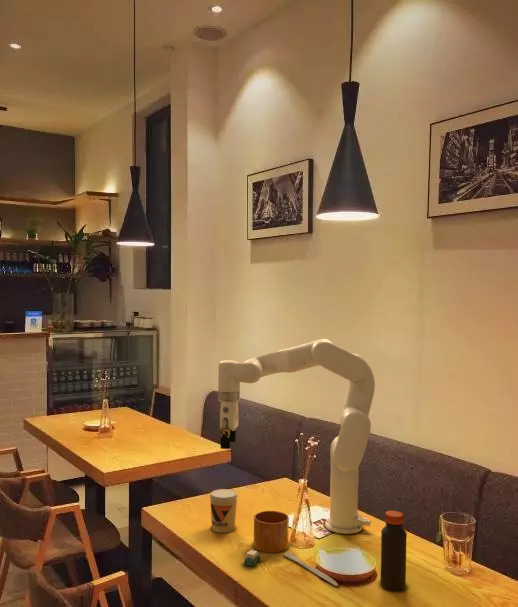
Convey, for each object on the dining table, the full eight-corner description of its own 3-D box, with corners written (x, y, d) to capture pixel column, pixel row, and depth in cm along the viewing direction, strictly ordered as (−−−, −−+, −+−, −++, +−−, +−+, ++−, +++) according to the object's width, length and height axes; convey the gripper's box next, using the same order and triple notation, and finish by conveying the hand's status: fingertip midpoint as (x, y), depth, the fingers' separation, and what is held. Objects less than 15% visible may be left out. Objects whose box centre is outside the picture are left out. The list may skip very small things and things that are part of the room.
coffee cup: (204, 531, 200) (205, 495, 200) (216, 521, 209) (216, 487, 209) (230, 535, 197) (231, 499, 197) (241, 525, 206) (241, 490, 206)
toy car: (253, 568, 174) (253, 556, 174) (243, 565, 176) (243, 554, 175) (261, 560, 179) (261, 549, 179) (251, 558, 181) (251, 547, 181)
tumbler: (291, 540, 194) (292, 513, 194) (283, 554, 183) (284, 525, 183) (259, 536, 197) (259, 509, 197) (249, 549, 187) (249, 521, 186)
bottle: (376, 587, 164) (378, 514, 164) (385, 577, 170) (386, 507, 169) (400, 594, 160) (402, 520, 160) (408, 583, 166) (410, 512, 166)
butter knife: (290, 551, 184) (282, 553, 183) (341, 583, 164) (333, 586, 163) (290, 552, 184) (282, 554, 183) (341, 585, 164) (333, 587, 163)
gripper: (234, 401, 198) (233, 452, 199) (244, 392, 215) (243, 439, 216) (212, 400, 199) (211, 451, 200) (223, 391, 217) (222, 438, 217)
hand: (228, 445), depth 208 cm, fingers open, 9 cm apart
